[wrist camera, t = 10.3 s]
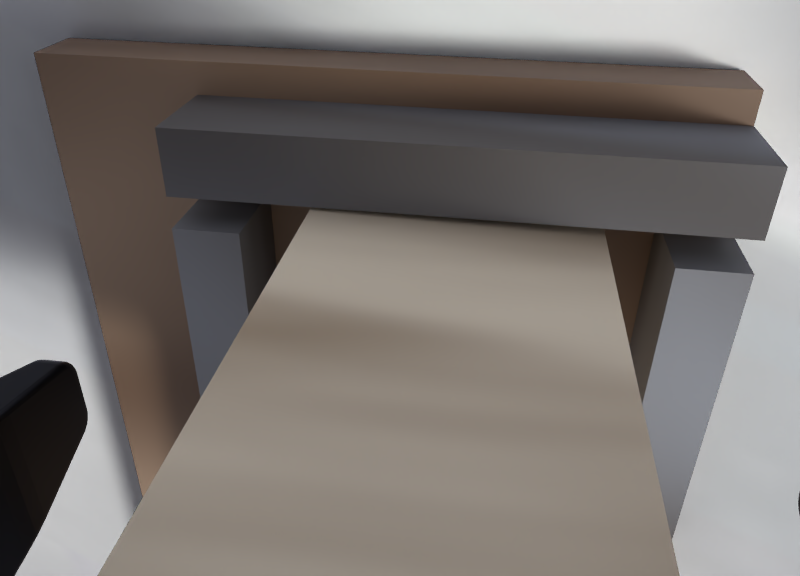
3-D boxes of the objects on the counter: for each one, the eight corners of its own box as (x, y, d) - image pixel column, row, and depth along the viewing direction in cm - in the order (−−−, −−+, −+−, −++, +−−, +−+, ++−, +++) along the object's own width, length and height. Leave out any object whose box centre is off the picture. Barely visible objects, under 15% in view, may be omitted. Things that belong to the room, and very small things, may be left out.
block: (556, 399, 13) (597, 1009, 6) (336, 373, 13) (146, 918, 7) (595, 192, 11) (721, 772, 4) (333, 169, 11) (48, 661, 4)
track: (593, 655, 18) (603, 761, 16) (191, 599, 19) (151, 692, 17) (743, 70, 11) (800, 126, 8) (68, 38, 12) (-31, 79, 10)
